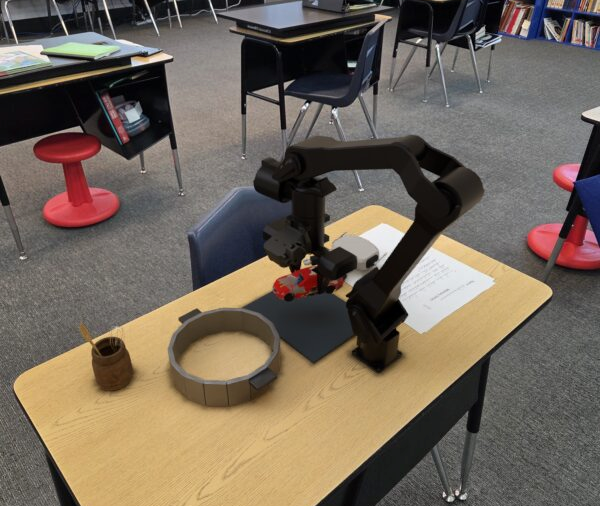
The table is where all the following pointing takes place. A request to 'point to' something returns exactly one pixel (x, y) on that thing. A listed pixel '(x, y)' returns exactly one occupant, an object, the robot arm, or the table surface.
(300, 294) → the race car
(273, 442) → the table surface
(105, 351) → the utensil holder
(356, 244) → the robot toy
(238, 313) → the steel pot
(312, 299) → the rubber mat
